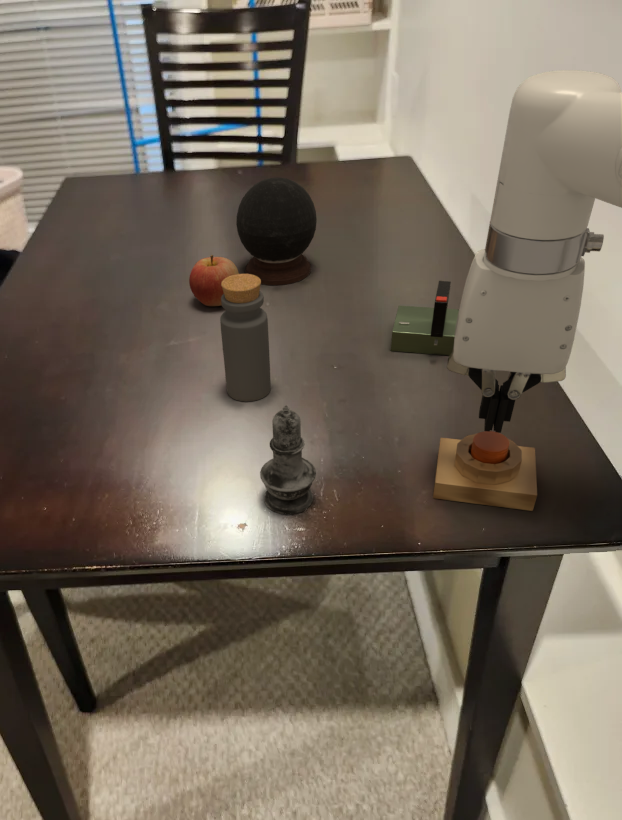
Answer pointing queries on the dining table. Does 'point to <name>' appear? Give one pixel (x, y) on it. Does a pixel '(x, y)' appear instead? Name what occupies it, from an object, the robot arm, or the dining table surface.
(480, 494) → the button block
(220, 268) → the apple
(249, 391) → the bottle
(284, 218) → the black ball on stand
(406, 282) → the dining table surface
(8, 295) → the dining table surface
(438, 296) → the black block
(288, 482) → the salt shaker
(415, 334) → the clamp panel
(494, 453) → the button
